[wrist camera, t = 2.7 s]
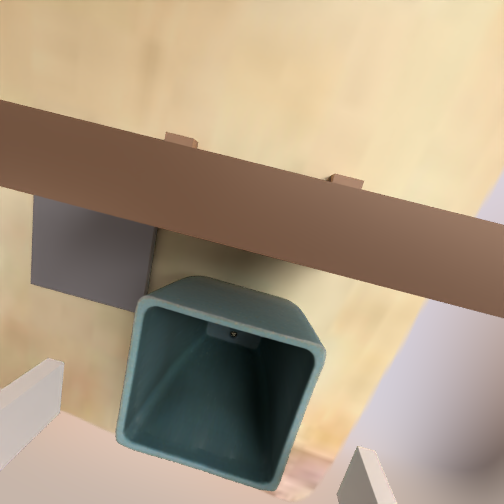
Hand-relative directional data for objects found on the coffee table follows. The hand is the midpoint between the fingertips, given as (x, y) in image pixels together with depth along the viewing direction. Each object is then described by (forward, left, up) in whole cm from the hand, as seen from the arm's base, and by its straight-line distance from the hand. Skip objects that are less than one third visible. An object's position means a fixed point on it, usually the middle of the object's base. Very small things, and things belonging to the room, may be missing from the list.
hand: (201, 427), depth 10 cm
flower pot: (0, 0, -10) cm, 10 cm away
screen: (-10, -1, -10) cm, 14 cm away
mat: (-3, -13, -10) cm, 17 cm away
